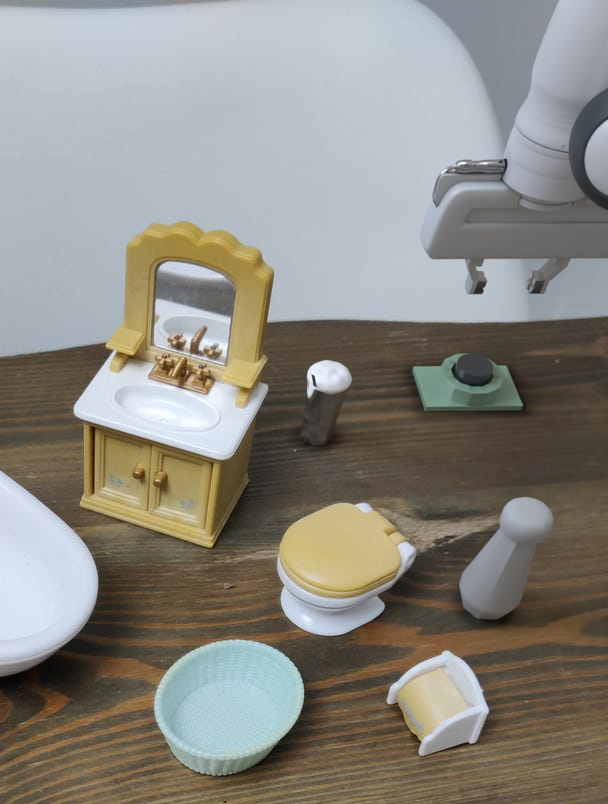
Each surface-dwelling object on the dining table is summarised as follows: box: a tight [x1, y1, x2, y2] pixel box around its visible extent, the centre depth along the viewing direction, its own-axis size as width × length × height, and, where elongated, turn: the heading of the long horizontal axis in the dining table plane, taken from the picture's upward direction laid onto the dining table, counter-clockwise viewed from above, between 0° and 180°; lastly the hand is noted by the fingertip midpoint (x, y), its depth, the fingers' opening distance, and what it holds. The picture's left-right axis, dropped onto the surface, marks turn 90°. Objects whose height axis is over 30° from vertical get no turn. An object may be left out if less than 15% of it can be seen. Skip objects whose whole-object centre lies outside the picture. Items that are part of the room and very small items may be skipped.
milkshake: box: [300, 359, 353, 447], centre depth 103 cm, size 4×5×10 cm
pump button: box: [454, 352, 493, 386], centre depth 110 cm, size 4×4×2 cm
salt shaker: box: [458, 496, 555, 620], centre depth 89 cm, size 6×6×13 cm
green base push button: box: [411, 352, 524, 412], centre depth 111 cm, size 11×7×2 cm, turn 92°
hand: (503, 290), depth 102 cm, fingers open, 5 cm apart
